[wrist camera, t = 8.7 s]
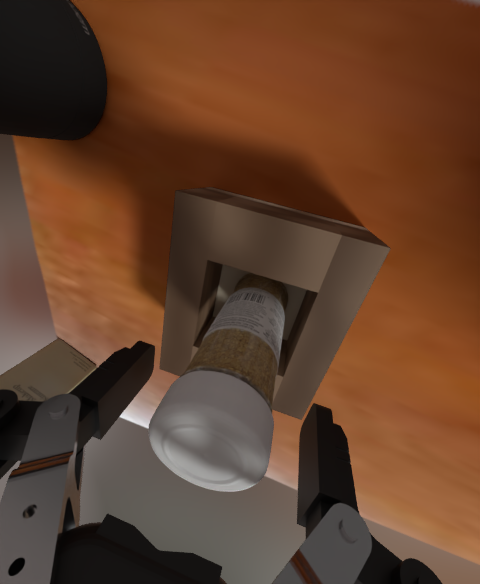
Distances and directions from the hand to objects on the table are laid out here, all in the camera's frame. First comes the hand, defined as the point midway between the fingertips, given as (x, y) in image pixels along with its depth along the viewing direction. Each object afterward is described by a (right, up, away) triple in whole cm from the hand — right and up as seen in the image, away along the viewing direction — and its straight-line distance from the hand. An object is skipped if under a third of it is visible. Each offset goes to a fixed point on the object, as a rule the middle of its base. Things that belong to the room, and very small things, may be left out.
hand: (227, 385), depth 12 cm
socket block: (+3, +5, +10) cm, 11 cm away
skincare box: (-21, -4, +21) cm, 30 cm away
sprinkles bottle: (+2, +4, +9) cm, 10 cm away
